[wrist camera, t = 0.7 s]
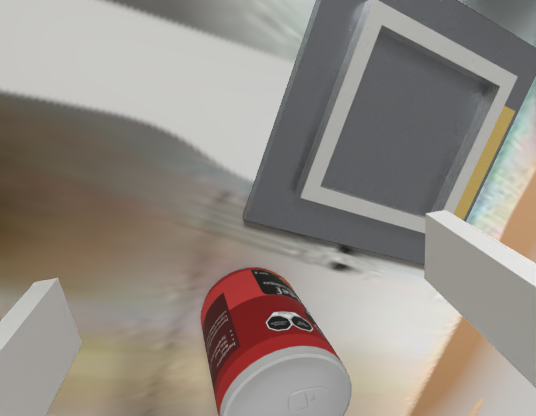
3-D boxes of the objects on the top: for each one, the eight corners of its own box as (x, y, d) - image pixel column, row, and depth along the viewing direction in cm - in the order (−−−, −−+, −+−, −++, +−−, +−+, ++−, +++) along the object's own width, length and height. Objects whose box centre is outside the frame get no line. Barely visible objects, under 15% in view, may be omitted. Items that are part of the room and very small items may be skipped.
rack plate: (242, 216, 29) (249, 225, 27) (337, -63, 25) (353, -75, 23) (435, 264, 36) (452, 275, 34) (534, 54, 32) (560, 52, 30)
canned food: (304, 313, 33) (369, 411, 23) (226, 360, 33) (258, 483, 23) (269, 246, 30) (326, 327, 20) (181, 297, 30) (195, 407, 20)
